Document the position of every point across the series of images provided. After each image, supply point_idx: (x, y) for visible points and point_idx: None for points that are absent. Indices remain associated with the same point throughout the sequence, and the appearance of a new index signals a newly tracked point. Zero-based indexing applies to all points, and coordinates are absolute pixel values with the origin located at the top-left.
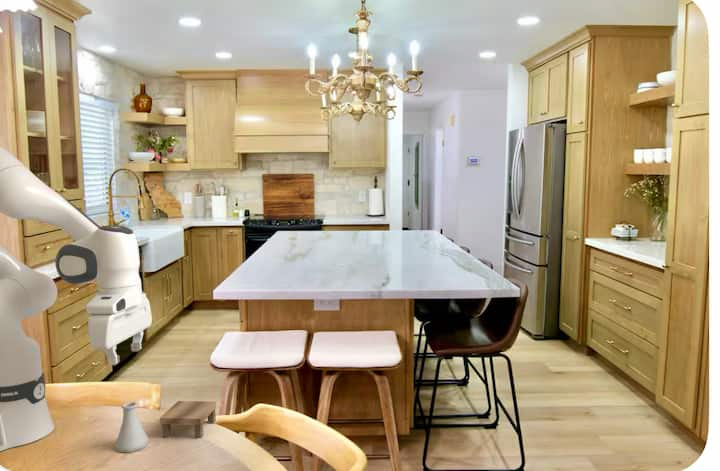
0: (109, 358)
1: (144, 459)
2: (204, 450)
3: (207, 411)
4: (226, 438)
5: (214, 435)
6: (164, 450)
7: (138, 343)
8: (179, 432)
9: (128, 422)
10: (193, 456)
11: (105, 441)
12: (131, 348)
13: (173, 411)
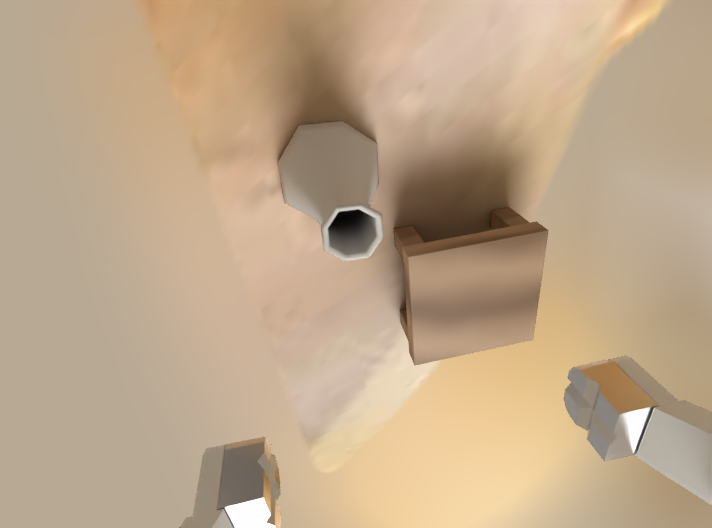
0: (200, 508)
1: (265, 260)
2: (345, 361)
3: (467, 352)
4: (409, 370)
5: None
6: (324, 278)
7: (626, 452)
8: None
9: (317, 216)
10: (313, 356)
11: (339, 44)
12: (590, 379)
13: (460, 268)
